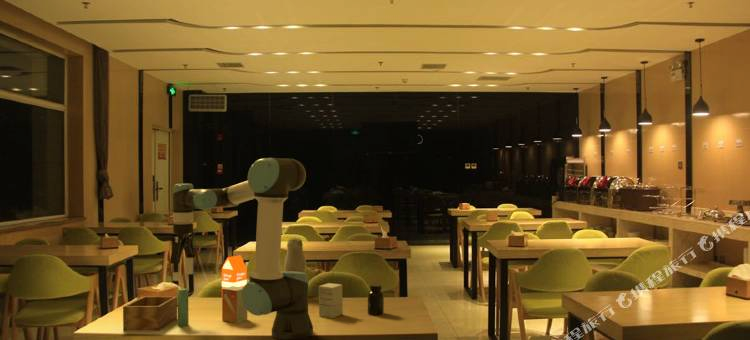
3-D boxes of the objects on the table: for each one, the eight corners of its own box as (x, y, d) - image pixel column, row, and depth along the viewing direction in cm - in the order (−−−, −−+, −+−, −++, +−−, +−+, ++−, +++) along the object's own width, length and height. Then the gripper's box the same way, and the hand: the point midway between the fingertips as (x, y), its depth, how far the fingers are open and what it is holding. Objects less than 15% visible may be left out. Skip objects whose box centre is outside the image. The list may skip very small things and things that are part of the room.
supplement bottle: (364, 314, 242) (364, 285, 242) (372, 311, 248) (372, 283, 248) (379, 316, 239) (379, 287, 239) (386, 312, 245) (386, 284, 245)
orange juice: (246, 297, 277) (246, 255, 277) (233, 301, 270) (233, 258, 270) (235, 295, 281) (235, 254, 281) (221, 299, 274) (221, 256, 274)
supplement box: (328, 312, 246) (328, 282, 247) (343, 314, 243) (343, 284, 243) (318, 316, 240) (318, 285, 240) (333, 318, 236) (332, 287, 236)
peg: (190, 325, 227) (189, 289, 227) (180, 327, 224) (179, 291, 224) (186, 323, 230) (186, 288, 230) (176, 325, 227) (176, 289, 228)
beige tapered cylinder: (309, 295, 282) (308, 237, 282) (300, 299, 272) (300, 239, 272) (290, 293, 284) (290, 236, 285) (281, 298, 275) (281, 239, 275)
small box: (221, 320, 234) (221, 288, 234) (233, 317, 239) (232, 285, 239) (237, 323, 230) (236, 290, 230) (247, 319, 235) (247, 287, 235)
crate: (177, 318, 238) (177, 296, 238) (159, 330, 220) (159, 306, 220) (143, 318, 238) (143, 296, 238) (123, 330, 220) (123, 306, 220)
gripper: (185, 220, 240) (185, 271, 240) (160, 226, 215) (160, 283, 215) (203, 220, 240) (203, 271, 240) (180, 226, 215) (180, 283, 215)
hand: (183, 277), depth 227 cm, fingers open, 13 cm apart
